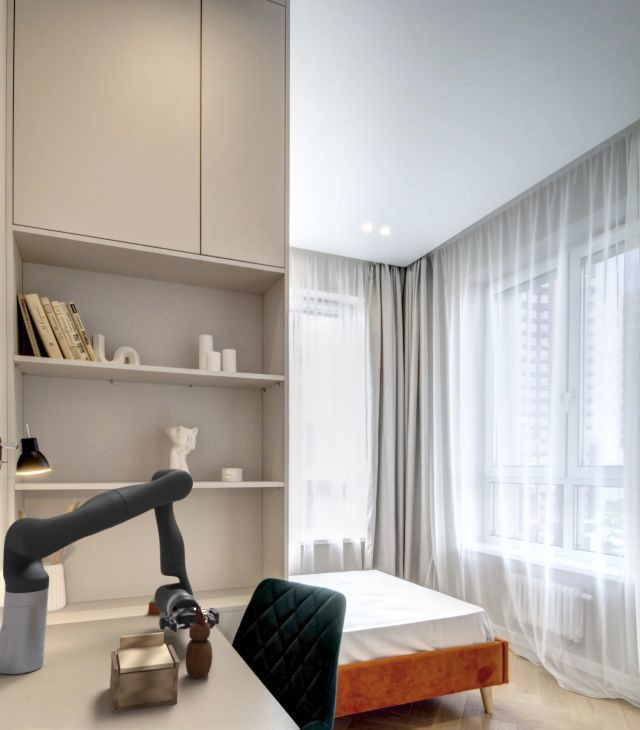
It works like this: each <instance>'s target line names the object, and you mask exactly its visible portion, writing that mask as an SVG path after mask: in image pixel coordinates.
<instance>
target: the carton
mask: <svg viewBox="0 0 640 730" xmlns="http://www.w3.org/2000/svg"><path fill="white" fill-rule="evenodd" d="M159 613H161V611H160V610H159V609H158V608H157V606H156V604H155V597H153V598H152V599H151V600H150V601H149V602H148V609H147V615H148V616H159ZM166 615H168V614H166Z"/></svg>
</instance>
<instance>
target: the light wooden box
mask: <svg viewBox="0 0 640 730" xmlns="http://www.w3.org/2000/svg"><path fill="white" fill-rule="evenodd" d="M167 648H168V651H169V653H170V655H171V657H172V660H173V662H174V667H168V668H160V669H151V670H143V671H135V672H126V673H120V668H119V662H118V656H117V650H112V651H111V652H110V653H111V654H110V656H111V657H110V658H111V660H110V661H111V664H110V666H111V667H110V679H109V681H110V682H109V683H110V684H109V692H110V691H111V693H110V700H112V702H111V710H112V709H113V710H112V713H116V712H115V711H117V712H123V711H130V709H132V710H138V709H137V708H139V709H144V708H145V709H146V708H152V707H158V706H165V705H166V706H167V705H174V704H178V693H179V669H180V666H181V665H180V664H181V661H180V659H179V657H178V654H177V653H176V651H175V650H176V649H174V646H173V645H172V644H169V645H167ZM135 708H136V709H135ZM122 710H123V711H122Z"/></svg>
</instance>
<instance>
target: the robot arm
mask: <svg viewBox="0 0 640 730" xmlns="http://www.w3.org/2000/svg"><path fill="white" fill-rule="evenodd" d="M193 487H194V480H193V476H192V474H190V473H189V472H188V471H186V470H185V469H182V468H181V469H180V468H166V469H165V468H163V469H160V470H157V471H155V472H154V474H153V475H152V477H151V479H150V481H147V482H145V483H144V482H143V483H138V484H132V485H126V486H122V487H117V488H114V489H110V490H108V491H104V492H102V493H99V494H97V495H95V496H92V497H91V498H89V499H88V500H86V501H84V503H82V504H81V505H80V506H78V508H76V509H74V510H72V511H69V512H67V513H64V514H63V513H62V514H60V515H57V516H52V517H49V518H36V517H22V518H18V519H17V520H15V521H14V522H12V523H11V525H10V526H9V527H8V529H7V531H6V533H5V537H4V542H3V543H4V544H3V553H2V554H3V555H2V556H3V557H2V559H3V561H2V576H3V577H2V578H3V580H4V583H5V584H4V585H5V587H4V599H3V608H2V609H3V610H2V621H1V627H0V675H1V674H4V675H19V674H21V675H22V674H26V673H30V672H33V671H36V670H39V669H40V668H42V667H43V666H44V658H45V641H46V631H47V630H46V628H47V617H48V604H49V603H48V601H49V590H50V589H49V588H50V575H49V573H48V572H47V571H46V569H45V567H44V565H43V564H44V563H43V559H45V558H47V557H50V556H51V555H53V554H55V553H57V552H59V551H60V550H62V549H64V548H66V547H68V546H70V545H72V544H73V543H75V542H77V541H79V540H82V539H84V538H88V537H90V536H93V535H96V534H98V533H101V532H103V531H106V530H108V529H112V528H113V527H116V526H118V525H121V524H124V523H126V522H128V521H130V520H131V519H134V518H136V517H139V516H141V515H144V514H145V513H148V512H149V511H151V510H153V511H154V517H155V520H156V528H157V532H158V539H159V540H158V541H159V563H160V564H159V565H160V567H159V569H160V573H161V575H162V576H164V577H165V576H166V577H174V578H177V579H178V582H174V583H167V584H162V585H160V586H159V587H157V588H156V591H155V593H154V598H155V604H156V606H157V608H158V609H159V610H160V611H161V613H159V615H158V618H159V619H158V626H159V629H160V630H165V629H166V628H167V629H168V630H169V631H172V632H173V633H177V631H178V629H180V630H187V629H190V626H191V624H192V623H194V622H195V612H196V603H198V602H197V601H196V599H195V598H194V593H193V588H192V586H191V583H190V580H189V577H188V573H187V567H186V549H185V548H186V547H185V541H184V538H183V535H182V533H181V530H180V527H179V525H178V523H177V521H176V517H175V512H174V503H175V502H178V501H182V500H184V499H186V497H188V496H189V494H190V493H191V491H192V489H193ZM199 607H200V605H199V604H198V610H199ZM201 612H203V617H205V622H207V623H209V625H210V630H211V629H214V627H215V626H216V625H218V624H220V612H219V611H218V610H217V609H216V608H214V607H211V608H209V609H208V611H207V610H205V609H201ZM166 614H168V615H166Z"/></svg>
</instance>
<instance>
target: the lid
mask: <svg viewBox="0 0 640 730" xmlns="http://www.w3.org/2000/svg"><path fill="white" fill-rule="evenodd" d="M164 639H165V632H164V631H162V632H160V631H159V632H153V633H152V632H151V633H142V634H141V633H140V634H132V635H122V636H120V637H119V647H118V648H117V649H116V654H117V656H118V662H119V668H120V673H126V672H135V671H143V670H151V669H160V668H168V667H174V662H173V660H172V657H171V655H170V653H169V651H168V645H167V644H166V643H165V640H164Z"/></svg>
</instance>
